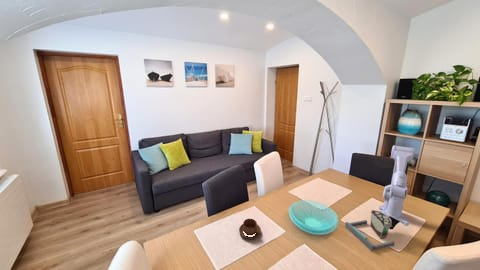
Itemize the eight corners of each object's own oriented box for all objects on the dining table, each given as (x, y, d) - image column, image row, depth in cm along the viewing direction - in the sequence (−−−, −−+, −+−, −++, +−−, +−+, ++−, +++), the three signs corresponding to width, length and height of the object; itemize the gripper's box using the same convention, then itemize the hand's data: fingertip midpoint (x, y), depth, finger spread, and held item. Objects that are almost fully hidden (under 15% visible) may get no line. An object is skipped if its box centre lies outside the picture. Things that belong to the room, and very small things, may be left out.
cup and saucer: (262, 227, 108) (263, 218, 106) (257, 243, 97) (258, 233, 95) (243, 223, 112) (243, 214, 110) (236, 237, 101) (235, 228, 99)
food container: (394, 242, 97) (398, 225, 94) (381, 241, 97) (385, 224, 95) (380, 225, 109) (383, 210, 106) (368, 224, 109) (371, 209, 107)
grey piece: (365, 222, 111) (366, 217, 110) (394, 245, 95) (395, 239, 94) (345, 226, 108) (345, 221, 107) (371, 251, 92) (372, 244, 91)
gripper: (376, 199, 107) (372, 220, 110) (403, 216, 93) (397, 239, 96) (386, 198, 108) (382, 218, 111) (414, 214, 94) (408, 236, 98)
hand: (390, 228), depth 104 cm, fingers closed
